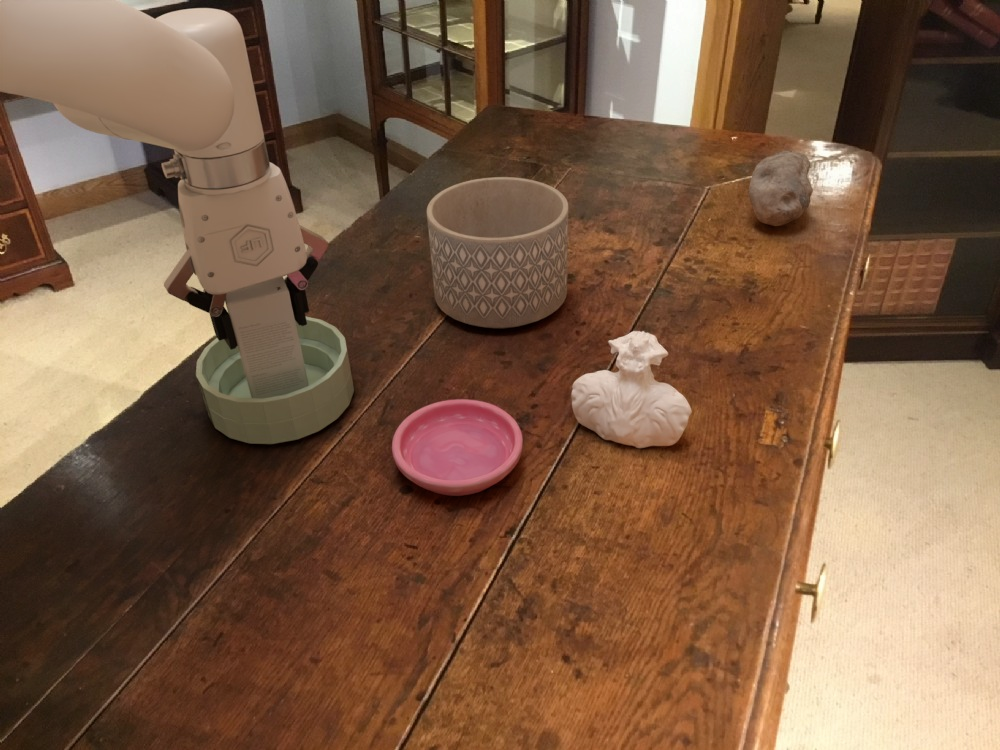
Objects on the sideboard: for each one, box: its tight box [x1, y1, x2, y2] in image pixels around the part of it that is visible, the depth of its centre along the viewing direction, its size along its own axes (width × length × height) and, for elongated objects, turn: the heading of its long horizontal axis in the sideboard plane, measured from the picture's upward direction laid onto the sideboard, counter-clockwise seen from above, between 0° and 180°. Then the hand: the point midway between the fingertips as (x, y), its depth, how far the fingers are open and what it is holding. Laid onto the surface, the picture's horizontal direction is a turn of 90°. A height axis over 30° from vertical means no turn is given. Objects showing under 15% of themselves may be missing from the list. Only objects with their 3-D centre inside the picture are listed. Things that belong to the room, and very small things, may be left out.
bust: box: [570, 330, 693, 449], centre depth 84 cm, size 12×8×11 cm
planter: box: [426, 176, 569, 330], centre depth 102 cm, size 16×16×13 cm
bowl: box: [195, 316, 355, 445], centre depth 90 cm, size 15×15×6 cm
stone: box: [747, 150, 814, 227], centre depth 119 cm, size 9×14×10 cm, turn 150°
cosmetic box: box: [224, 276, 309, 399], centre depth 86 cm, size 6×4×12 cm
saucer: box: [391, 398, 524, 497], centre depth 82 cm, size 12×12×3 cm
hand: (264, 329), depth 86 cm, fingers closed on cosmetic box, 6 cm apart
